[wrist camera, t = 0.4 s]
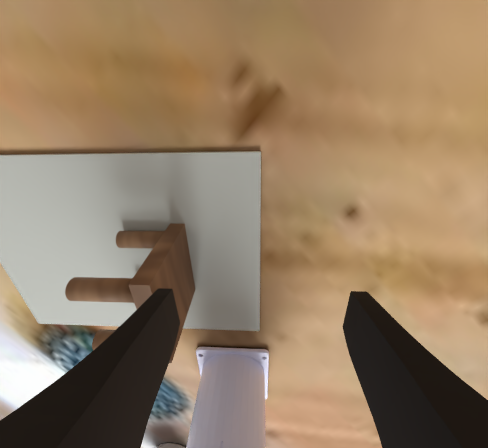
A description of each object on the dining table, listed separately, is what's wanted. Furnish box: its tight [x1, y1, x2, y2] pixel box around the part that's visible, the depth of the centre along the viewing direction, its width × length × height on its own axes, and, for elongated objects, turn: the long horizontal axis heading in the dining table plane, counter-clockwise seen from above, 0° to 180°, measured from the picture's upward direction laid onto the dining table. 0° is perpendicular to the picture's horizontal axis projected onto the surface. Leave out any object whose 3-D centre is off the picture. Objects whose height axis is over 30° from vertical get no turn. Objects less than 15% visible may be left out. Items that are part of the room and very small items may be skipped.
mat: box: [0, 151, 261, 331], centre depth 22 cm, size 18×24×1 cm
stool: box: [65, 223, 195, 363], centre depth 18 cm, size 5×7×7 cm
